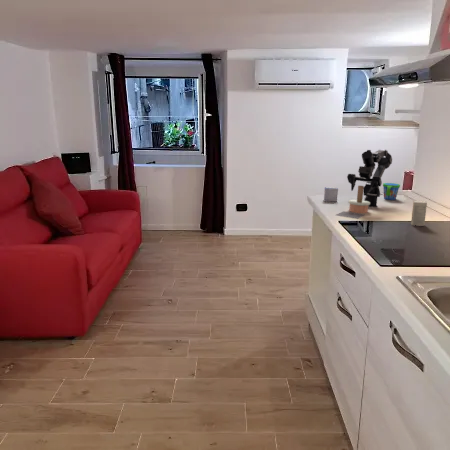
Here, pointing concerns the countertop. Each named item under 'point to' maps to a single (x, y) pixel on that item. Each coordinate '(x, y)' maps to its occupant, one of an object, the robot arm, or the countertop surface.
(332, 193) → the medicine box
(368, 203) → the lid
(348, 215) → the mat
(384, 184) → the snack cup
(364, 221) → the countertop surface
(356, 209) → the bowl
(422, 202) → the skincare box
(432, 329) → the countertop surface
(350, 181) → the robot arm
